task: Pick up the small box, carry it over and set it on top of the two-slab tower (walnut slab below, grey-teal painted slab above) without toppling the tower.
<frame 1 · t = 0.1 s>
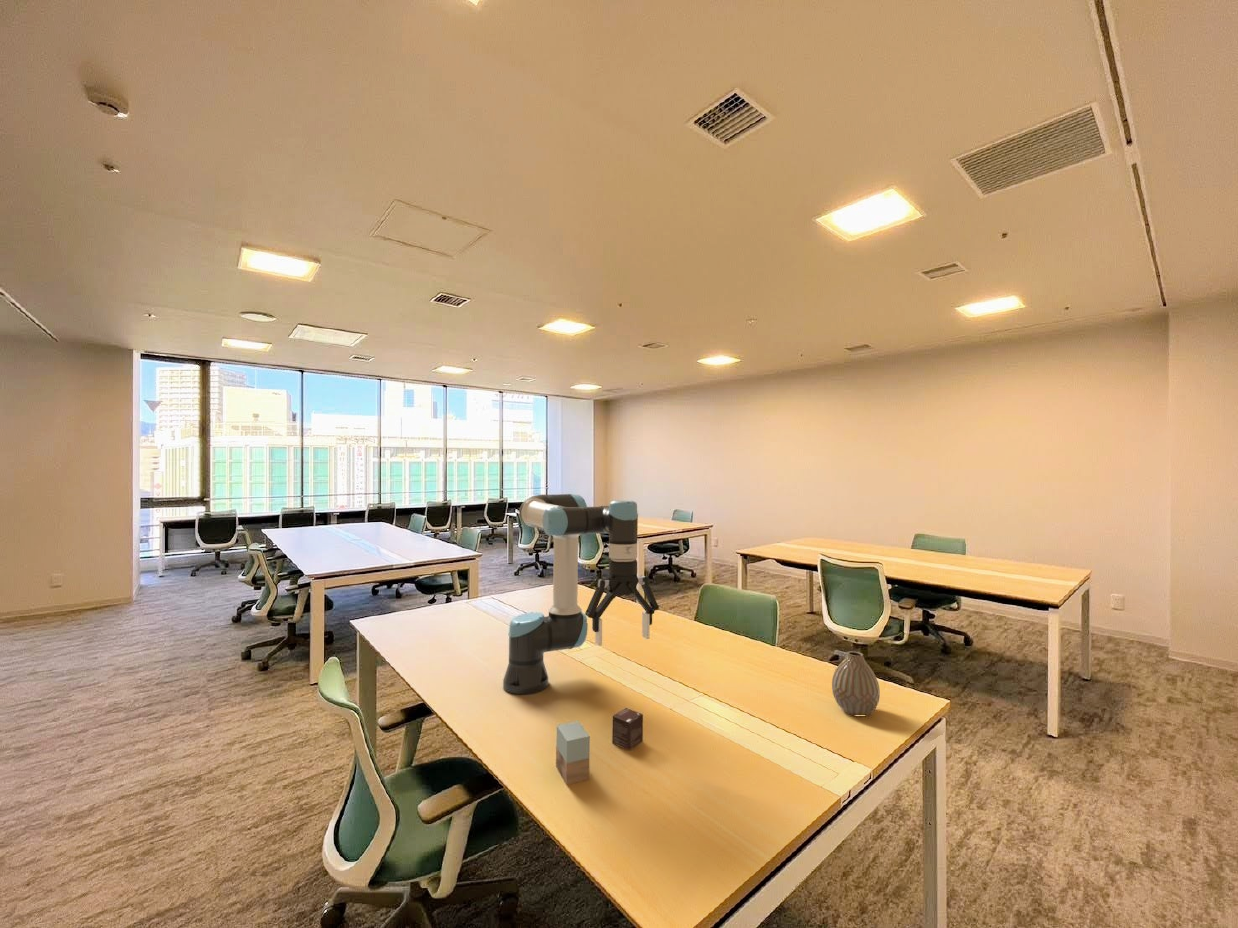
hand: (622, 640, 130), 28 cm above the table, fingers open, 13 cm apart
tower base: (572, 772, 118), on the table, touching tower top
box: (627, 743, 132), on the table
tower top: (572, 751, 118), point 5 cm above the table, touching tower base
vase: (855, 712, 150), on the table
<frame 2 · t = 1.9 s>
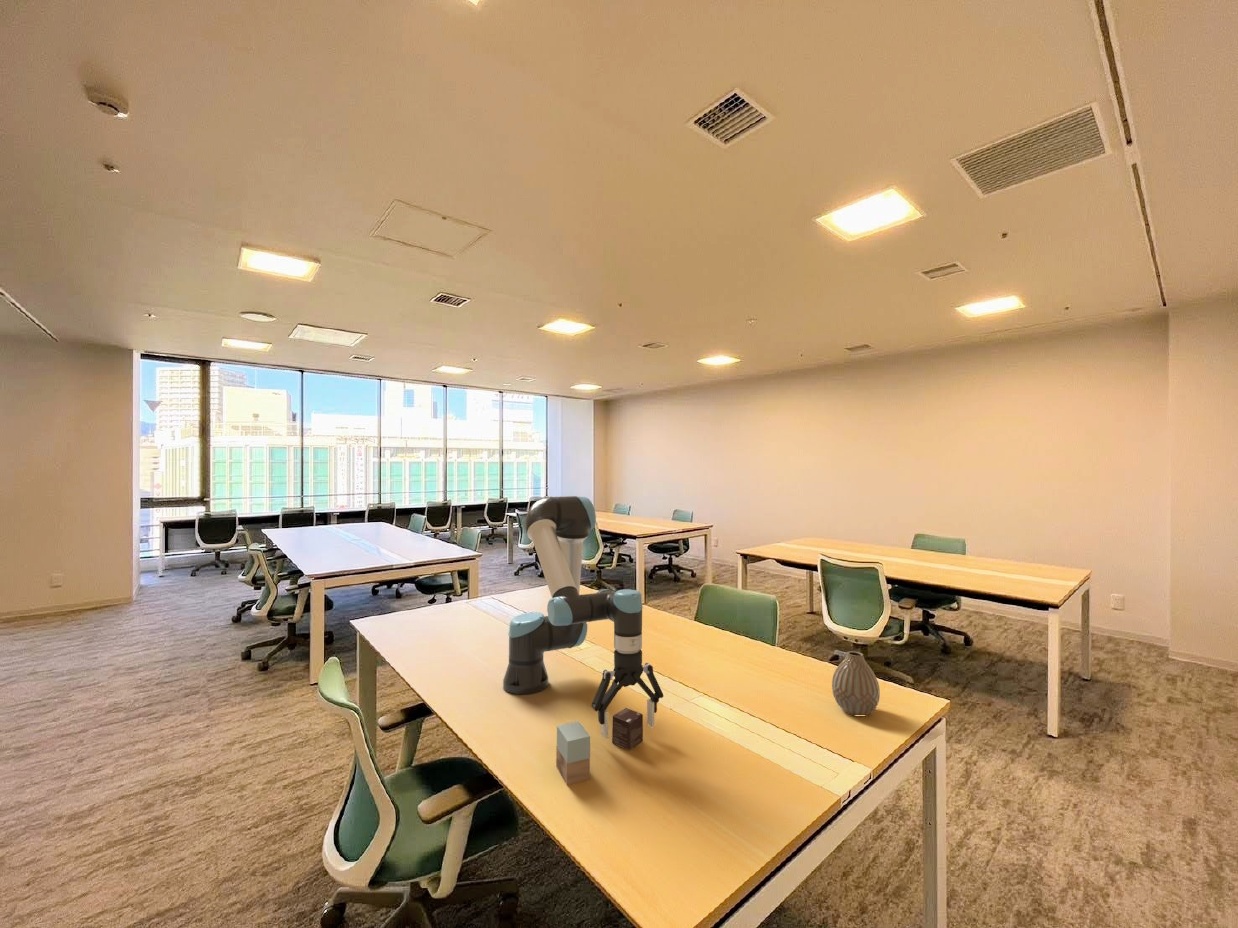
hand: (628, 730, 132), 3 cm above the table, fingers open, 13 cm apart
nothing on the table moved.
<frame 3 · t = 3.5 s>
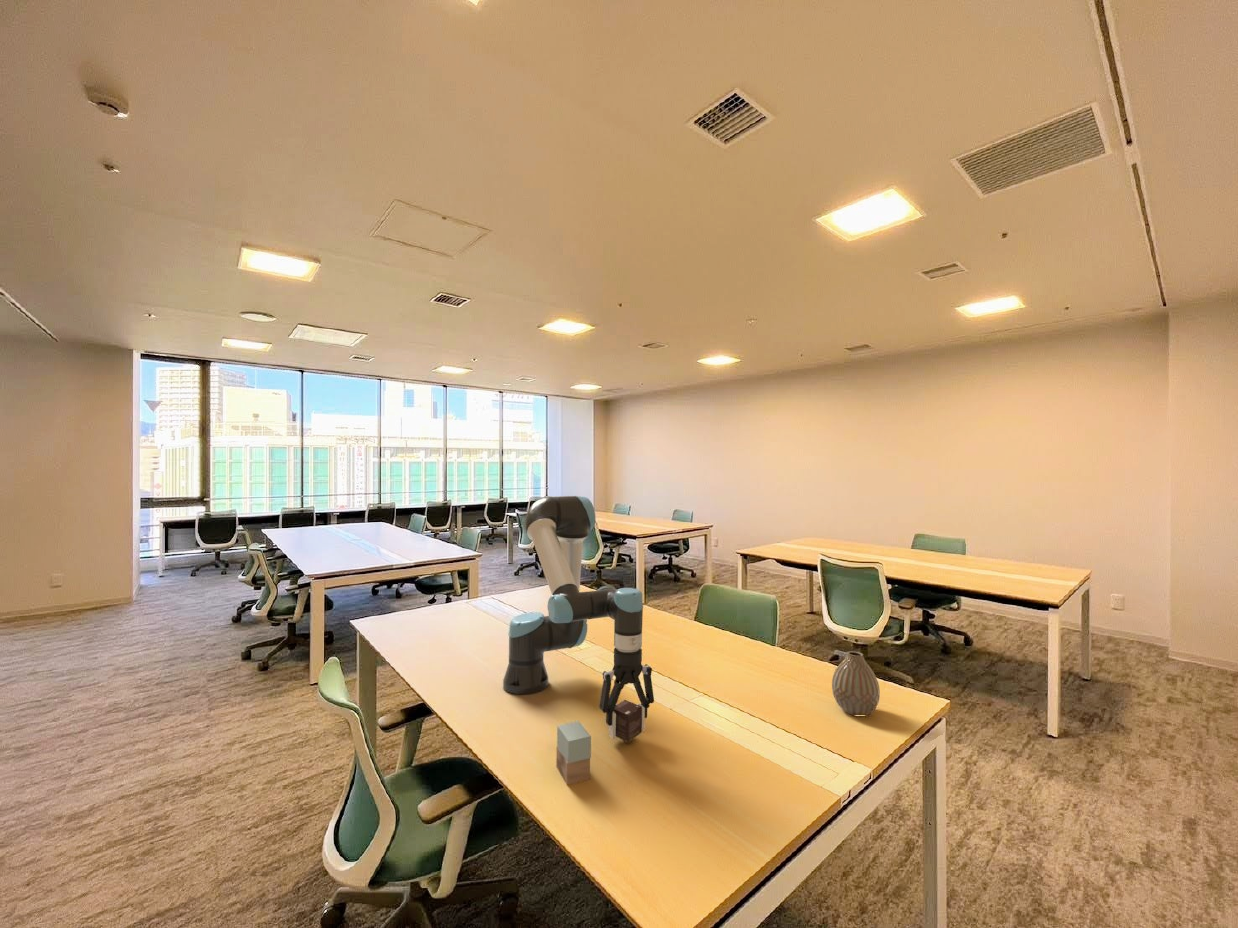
hand: (626, 733, 132), 2 cm above the table, fingers closed on box, 8 cm apart
box: (626, 734, 133), point 2 cm above the table, touching gripper
everything else where it was.
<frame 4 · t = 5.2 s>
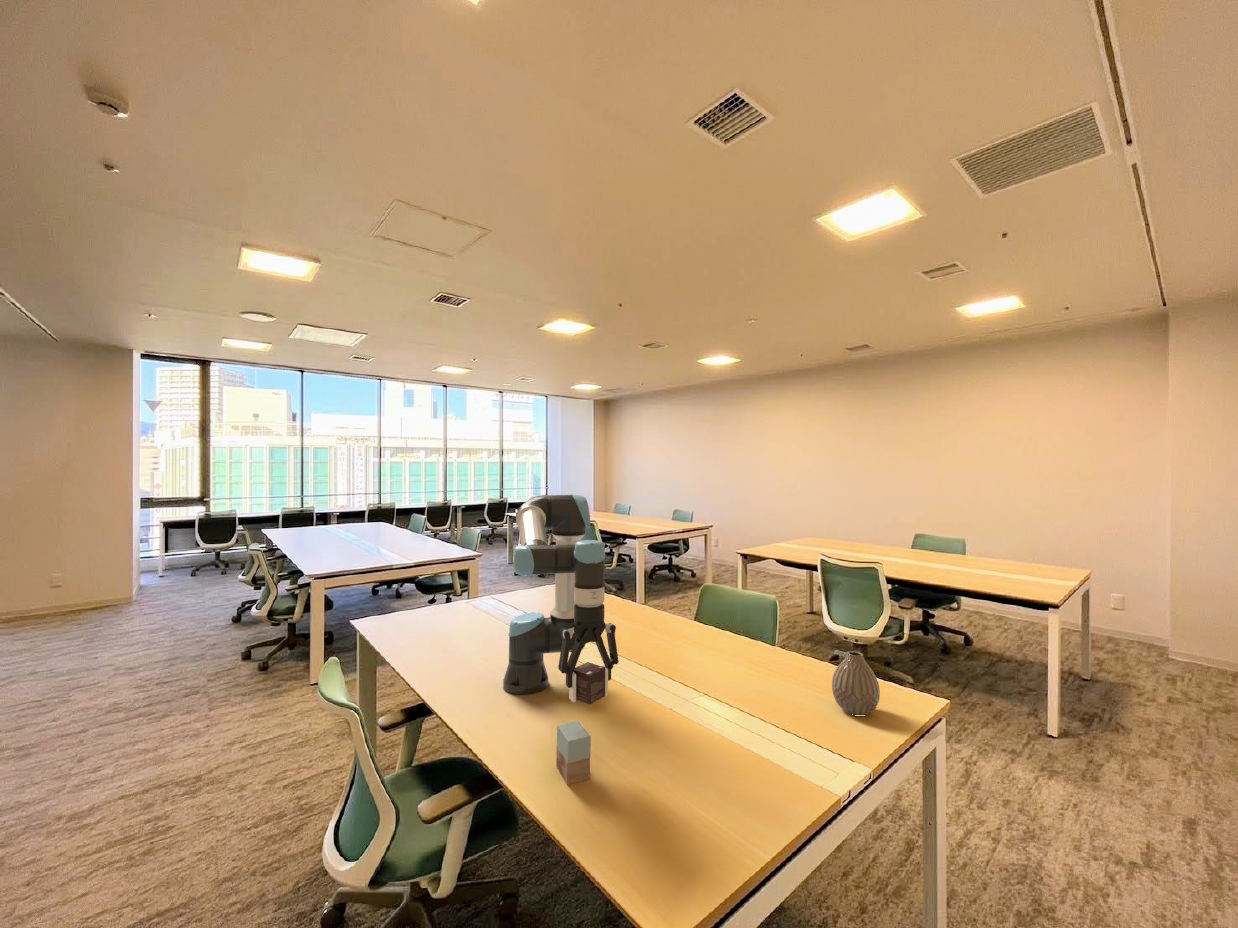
hand: (588, 696, 122), 16 cm above the table, fingers closed on box, 8 cm apart
box: (588, 698, 122), point 16 cm above the table, touching gripper
everything else where it was.
when the fingers open (11 cm above the table, at t = 7.0 s): box stays where it is, resting on tower top.
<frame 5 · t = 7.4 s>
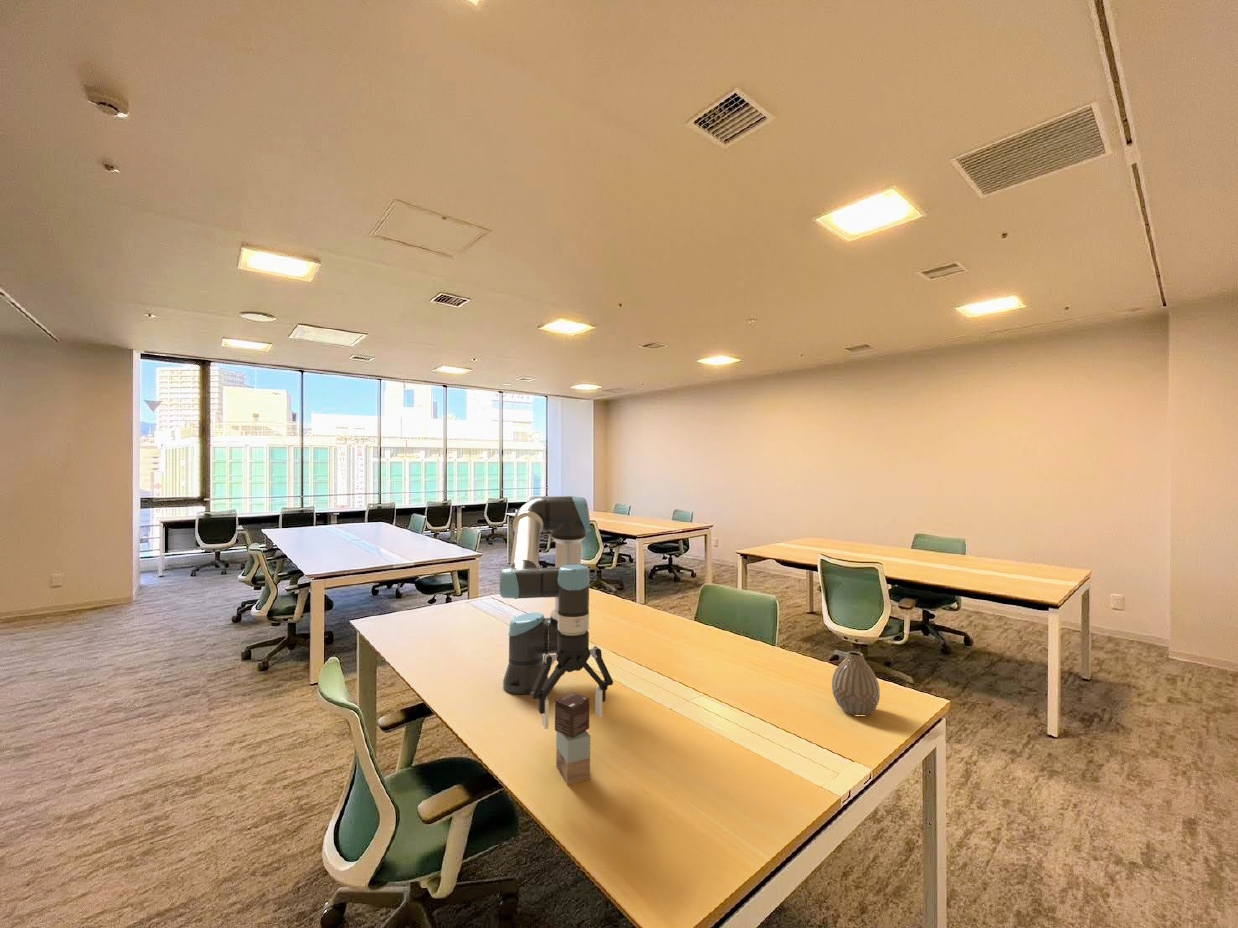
hand: (572, 720, 118), 12 cm above the table, fingers open, 13 cm apart
box: (572, 730, 119), point 10 cm above the table, touching tower top
tower top: (572, 751, 118), point 5 cm above the table, touching box, tower base
everything else where it was.
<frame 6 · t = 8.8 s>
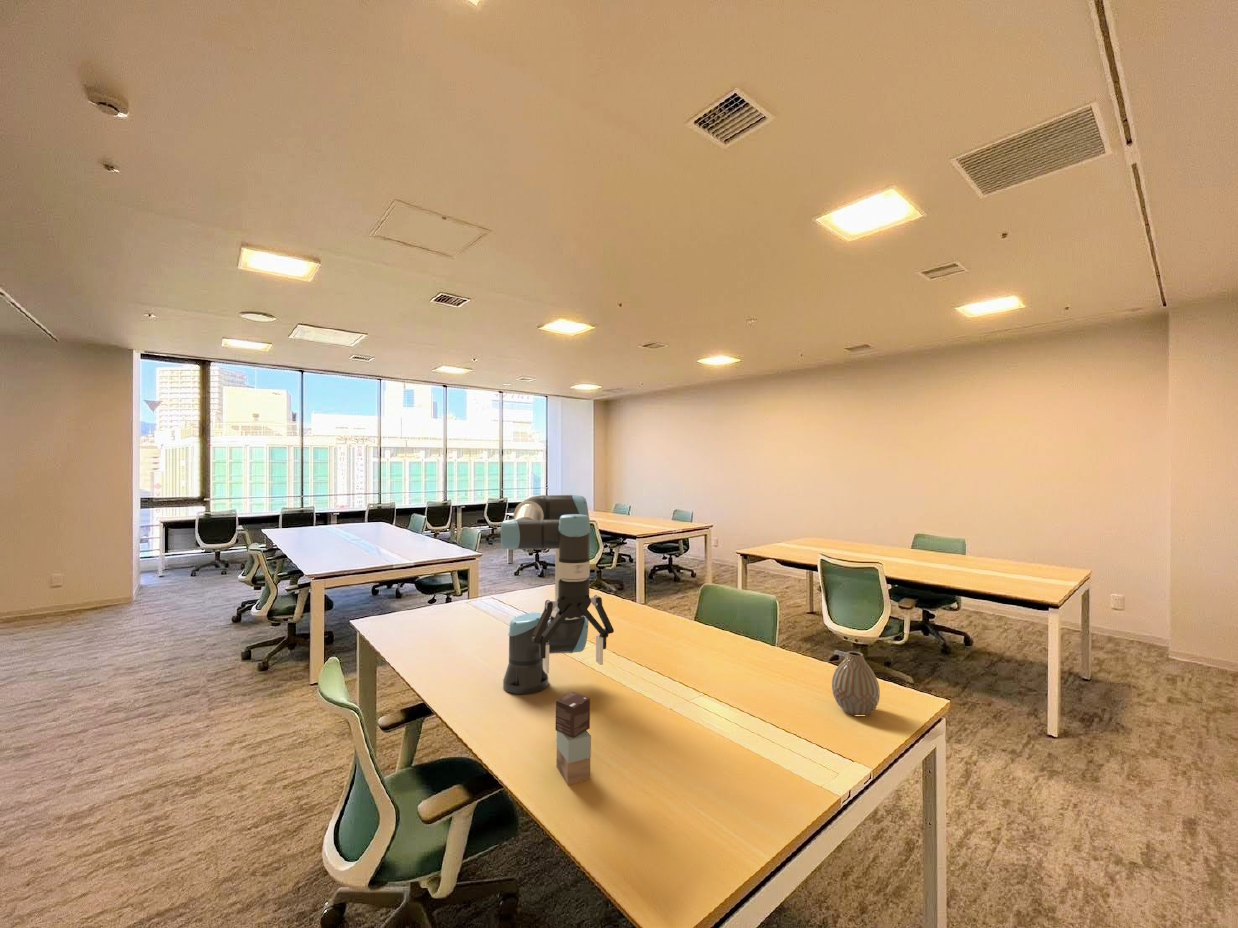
hand: (573, 667, 119), 25 cm above the table, fingers open, 13 cm apart
nothing on the table moved.
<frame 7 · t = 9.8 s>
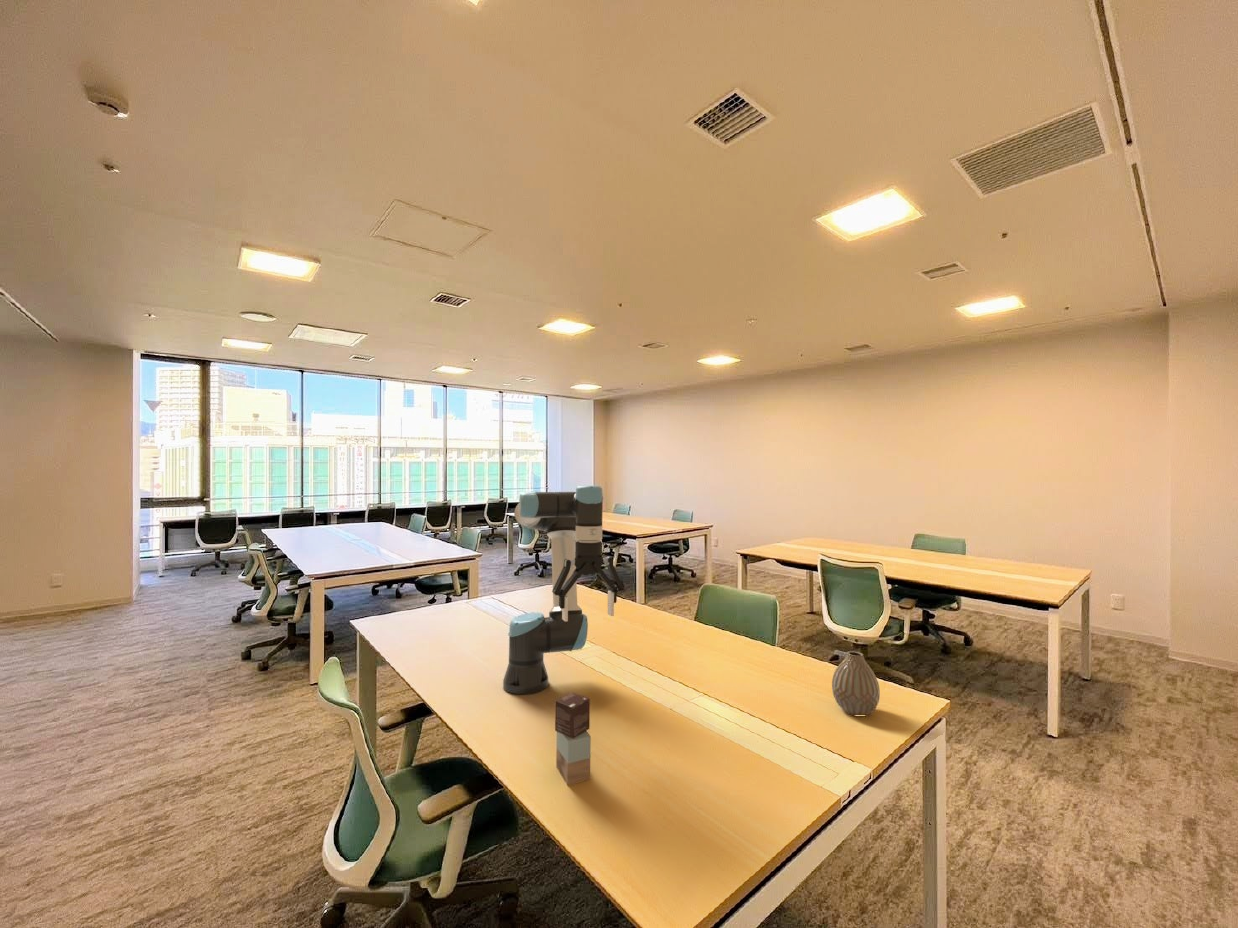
hand: (588, 617, 138), 32 cm above the table, fingers open, 13 cm apart
nothing on the table moved.
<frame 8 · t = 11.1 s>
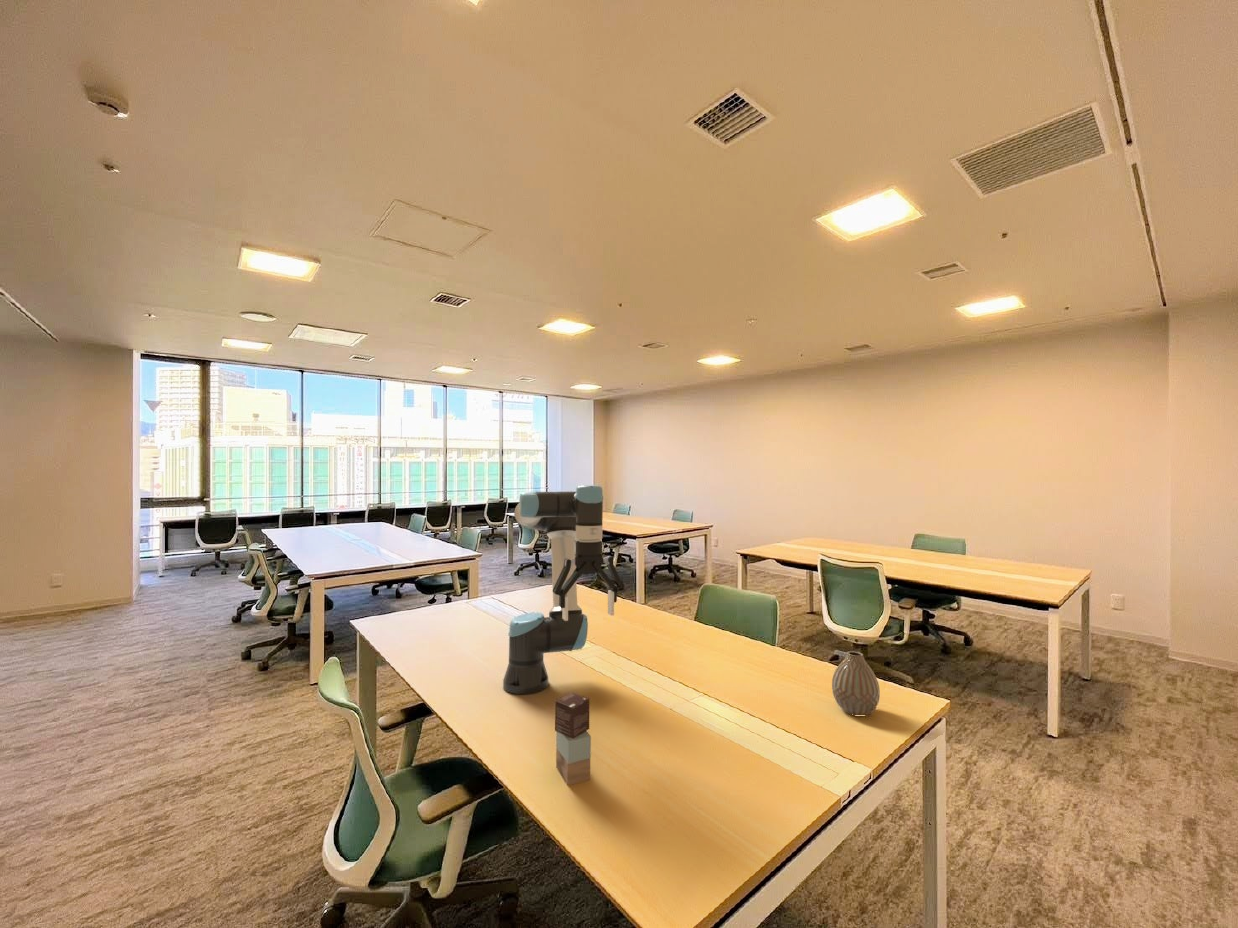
hand: (588, 616, 138), 32 cm above the table, fingers open, 13 cm apart
nothing on the table moved.
at the end: box 0.4 cm off-centre on the tower top, point 4.8 cm above the tower top's base; box tilted 0°; tower top moved 0.3 cm from its start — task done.
